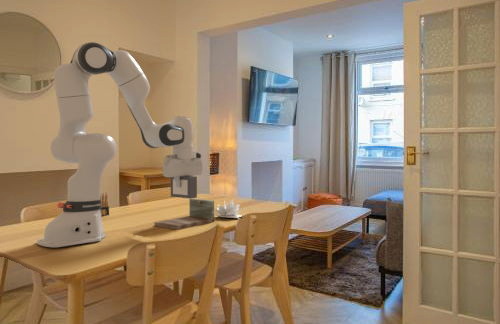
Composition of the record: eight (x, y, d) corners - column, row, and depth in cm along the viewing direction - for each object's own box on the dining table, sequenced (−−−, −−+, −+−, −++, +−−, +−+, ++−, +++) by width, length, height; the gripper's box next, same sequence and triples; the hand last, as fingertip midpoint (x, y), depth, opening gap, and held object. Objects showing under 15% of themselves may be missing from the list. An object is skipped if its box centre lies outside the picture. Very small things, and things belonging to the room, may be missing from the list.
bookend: (177, 229, 146) (177, 206, 146) (154, 225, 154) (154, 203, 154) (214, 221, 164) (214, 200, 163) (191, 218, 172) (191, 198, 172)
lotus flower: (243, 220, 167) (243, 201, 167) (211, 220, 168) (210, 201, 168) (245, 215, 182) (245, 198, 182) (215, 215, 182) (215, 197, 182)
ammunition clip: (90, 220, 168) (89, 194, 168) (87, 219, 169) (87, 193, 169) (109, 216, 178) (109, 192, 178) (106, 216, 179) (106, 192, 178)
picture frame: (190, 198, 153) (189, 177, 153) (170, 196, 160) (170, 176, 160) (196, 197, 156) (196, 176, 156) (177, 195, 163) (177, 175, 163)
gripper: (169, 154, 147) (170, 189, 148) (204, 154, 164) (205, 185, 164) (159, 154, 151) (159, 188, 151) (194, 154, 167) (194, 184, 168)
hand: (183, 186), depth 158 cm, fingers closed on picture frame, 4 cm apart
